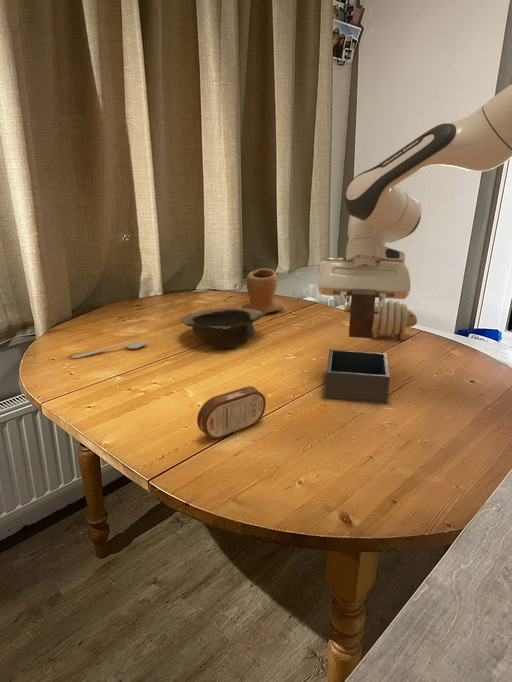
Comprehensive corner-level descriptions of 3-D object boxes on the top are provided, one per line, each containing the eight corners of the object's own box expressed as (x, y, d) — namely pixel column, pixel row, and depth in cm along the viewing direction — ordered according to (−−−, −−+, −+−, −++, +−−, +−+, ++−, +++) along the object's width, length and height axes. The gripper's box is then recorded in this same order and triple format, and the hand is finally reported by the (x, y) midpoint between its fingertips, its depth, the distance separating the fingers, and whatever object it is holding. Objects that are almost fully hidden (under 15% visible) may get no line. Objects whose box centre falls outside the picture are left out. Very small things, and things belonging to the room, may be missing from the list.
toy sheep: (418, 343, 144) (422, 307, 140) (359, 341, 146) (362, 305, 142) (411, 331, 154) (415, 296, 150) (356, 329, 156) (358, 295, 152)
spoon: (149, 348, 141) (148, 343, 140) (72, 360, 133) (71, 354, 132) (145, 343, 144) (145, 338, 144) (70, 355, 137) (70, 349, 136)
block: (371, 330, 115) (374, 288, 111) (371, 338, 110) (375, 294, 107) (348, 329, 116) (352, 287, 112) (348, 337, 111) (351, 293, 107)
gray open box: (383, 377, 123) (386, 353, 121) (386, 403, 111) (389, 376, 108) (328, 373, 125) (329, 349, 123) (325, 398, 113) (326, 372, 111)
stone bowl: (243, 359, 133) (240, 326, 130) (166, 351, 143) (161, 320, 140) (279, 329, 154) (277, 300, 151) (208, 324, 164) (205, 296, 161)
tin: (259, 416, 106) (259, 380, 102) (268, 422, 103) (268, 385, 100) (197, 439, 97) (195, 400, 94) (205, 446, 95) (203, 407, 92)
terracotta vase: (252, 320, 164) (252, 275, 158) (237, 310, 174) (236, 268, 168) (292, 314, 170) (293, 270, 165) (275, 304, 180) (276, 263, 175)
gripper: (319, 249, 115) (314, 302, 109) (412, 253, 111) (411, 308, 106) (320, 264, 120) (315, 315, 115) (407, 268, 117) (407, 321, 112)
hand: (362, 312), depth 110 cm, fingers closed on block, 5 cm apart
